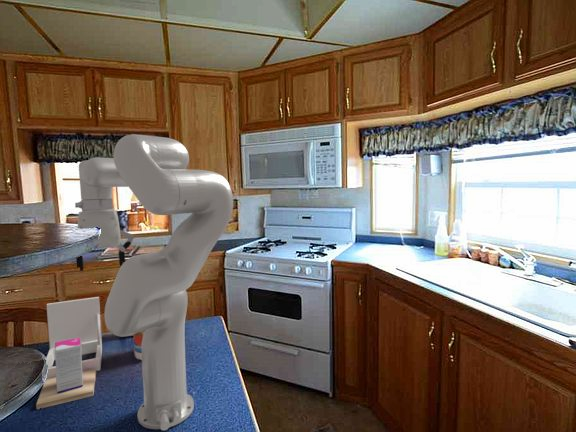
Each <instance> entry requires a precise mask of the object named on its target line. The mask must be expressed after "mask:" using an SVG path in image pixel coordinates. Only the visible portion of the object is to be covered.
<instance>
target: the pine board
mask: <svg viewBox="0 0 576 432" xmlns="http://www.w3.org/2000/svg"><path fill="white" fill-rule="evenodd" d="M82 375H83V386H82V387H80V388H77V389H73V390H69V391H66V392H63V393H59V394H57V384H56V377H55V378H51V379H46V380H45V382H44V383H43V386H42V388H41V390H40V394H39V396H38V399H37V401H36V404H35V407H36V409H37V410H40V408H41V409H44V408H49V407H54V406H57V405H62V404H64V403H65V404H66V403H69V402H72V401H73V402H74V401H77V400H82V399H85V398H89V397H93V396H94V393H95V384H96V376H97V371H96V369H93V370H88V371H83V372H82Z"/></svg>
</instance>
